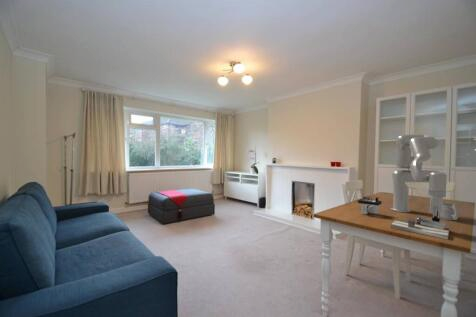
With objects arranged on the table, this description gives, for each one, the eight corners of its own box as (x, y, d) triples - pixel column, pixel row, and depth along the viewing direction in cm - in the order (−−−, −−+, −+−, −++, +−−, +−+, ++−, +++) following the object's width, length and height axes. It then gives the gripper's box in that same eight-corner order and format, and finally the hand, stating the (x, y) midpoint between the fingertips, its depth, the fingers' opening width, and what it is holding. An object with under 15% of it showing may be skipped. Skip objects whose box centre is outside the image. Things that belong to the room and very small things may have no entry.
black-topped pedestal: (342, 213, 167) (342, 196, 166) (356, 207, 184) (356, 191, 184) (385, 222, 146) (386, 202, 145) (397, 215, 163) (397, 196, 163)
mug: (448, 217, 157) (448, 200, 156) (463, 222, 145) (464, 204, 144) (436, 217, 157) (436, 200, 157) (451, 222, 145) (451, 204, 145)
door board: (397, 221, 148) (397, 212, 148) (449, 230, 130) (449, 220, 130) (390, 227, 135) (391, 217, 135) (447, 239, 117) (447, 228, 117)
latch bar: (416, 223, 136) (416, 217, 136) (417, 222, 137) (418, 217, 137) (443, 229, 125) (443, 223, 125) (445, 228, 126) (445, 222, 126)
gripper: (429, 190, 138) (428, 219, 139) (427, 194, 128) (426, 226, 129) (446, 192, 133) (445, 222, 134) (445, 196, 122) (443, 229, 123)
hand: (435, 224), depth 131 cm, fingers closed
